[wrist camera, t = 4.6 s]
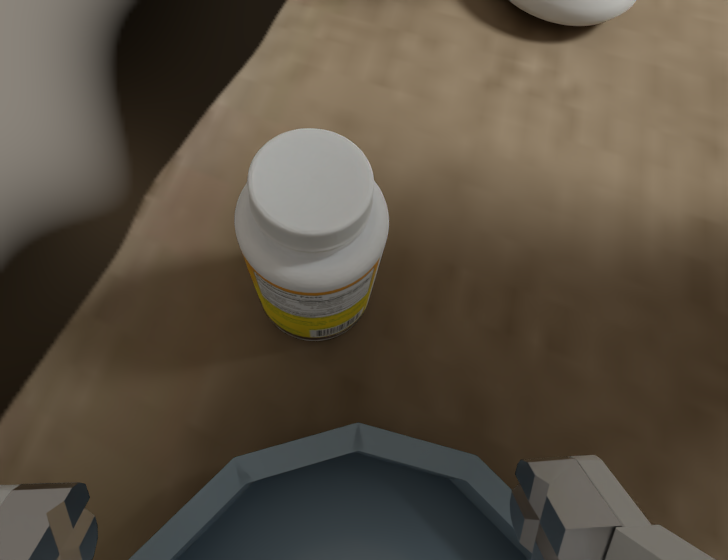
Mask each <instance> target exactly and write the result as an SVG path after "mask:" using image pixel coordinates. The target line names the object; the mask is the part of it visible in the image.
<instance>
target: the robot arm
mask: <svg viewBox="0 0 728 560" xmlns="http://www.w3.org/2000/svg"><path fill="white" fill-rule="evenodd" d="M515 475H516V477H517V479H518V481H519V484H518V485H517V486H516V487H515V488H514V489H513V490H512V492H511V498H510V515H511V521H512V525H513V528H514V531H515V534H516V536H517V538H518V541H519V543H520V544H521V545H523V546H524V547H525V548H526V549H528V550H529V551H530V552H531V553H532V556H531V560H715V559H714V558H712V557H710V556H709V555H707V554H706V553H704V552H702V551H701V550H699V549H698V548H696V547H694V546H693V545H691V544H690V543H688V542H686V541H685V540H683V539H682V538H680V537H678V536H677V535H675V534H674V533H672V532H670V531H669V530H667V529H666V528H664V527H662V526H661V525H651V523H650V522H649V521H648V519H647V518H646V517H645V516H644V514H643V513H642V512H641V510H640V509H639V508H638V506H637V505H636V504H635V502H634V501H633V500H632V499H631V497H630V496H629V495H628V493H627V492H626V491H625V489H624V488H623V487H622V486H621V484H620V483H619V482H618V480H617V479H616V478H615V476H614V475H613V474H612V473H611V471H610V470H609V469H608V467H607V466H606V465H605V463H604V462H603V461H602V460H601V459H600V458H599V457H597V456H596V455H583V456H570V457H567V456H566V457H550V458H534V459H521V460H520V462H519V463H518V464H517V468H516V473H515ZM89 498H90V496H89V493H88V490H87V487H86V484H84V483H79V482H77V483H40V484H21V485H0V560H92V559H93V557H94V552H95V548H96V544H97V539H98V526H97V522H96V518H95V515H94V514H92V513H91V512H90V511H88V510H87V509H86V508H85V506H86V504H87V502H88V500H89Z"/></svg>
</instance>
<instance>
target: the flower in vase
mask: <svg viewBox="0 0 728 560" xmlns="http://www.w3.org/2000/svg"><path fill="white" fill-rule="evenodd" d="M509 1H510V2H511V3H513V4H514V5H515V6H517V7H518V8H520V9H521V10H523V11H525V12H527V13H529V14H531V15H533V16H535V17H537V18H540V19H543V20H546V21H549V22H553V23H557V24H562V25H569V26H589V25H596V24H600V23H603V22H606V21H608V20H610V19H612V18H615V17H617V16H619V15H621V14H622V13H624V12H625V11H627V10H628V9H629V8H630V7H631V6H632V5H633V4H634V3H635V1H636V0H509Z"/></svg>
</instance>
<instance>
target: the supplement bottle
mask: <svg viewBox="0 0 728 560" xmlns="http://www.w3.org/2000/svg"><path fill="white" fill-rule="evenodd" d="M235 231H236V236H237V240H238V244H239V246H240V249H241V252H242V254H243V257H244V260H245V262H246V265H247V268H248V271H249V273H250V275H251V278H252V281H253V283H254V286H255V288H256V291H257V294H258V296H259V299H260V302H261V304H262V306H263V309H264V311H265V313H266V314H267V316H268V317H269V319H270V320H271V321H272V322H273V323H274V324H275V325H276V326H277V327H278V328H279V329H280V330H282V331H283V332H285V333H286V334H288V335H290V336H293V337H295V338H298V339H303V340H309V341H321V340H327V339H331V338H334V337H337V336H339V335H341V334H343V333H345V332H346V331H348V330H349V329H350V328H351V327H353V326H354V325H355V324H356V323H357V322H358V320H359V319H360V318H361V316H362V315H363V313H364V311H365V309H366V307H367V304H368V301H369V298H370V295H371V291H372V288H373V285H374V281H375V278H376V274H377V271H378V267H379V264H380V261H381V257H382V254H383V250H384V247H385V244H386V240H387V236H388V231H389V214H388V208H387V204H386V201H385V198H384V196H383V193H382V192H381V190H380V188H379V186H378V185H377V184H376V182H375V181H374V177H373V172H372V168H371V165H370V163H369V161H368V159H367V158H366V156H365V155H364V153H363V152H362V151H361V150H360V149H359V148H358V147H357V146H356V145H355V144H354V143H353V142H351V141H350V140H348V139H347V138H345V137H344V136H341V135H339V134H337V133H334V132H331V131H328V130H323V129H315V128H302V129H296V130H292V131H288V132H285V133H282V134H280V135H278V136H276V137H274V138H273V139H271V140H270V141H268V142H267V143H266V144H265V145H264V146H263V147H262V148H261V149H260V150H259V151H258V152H257V154H256V155H255V156H254V158H253V160H252V162H251V165H250V168H249V171H248V180H247V183H246V185H245V186H244V188H243V190H242V192H241V193H240V196H239V198H238V201H237V204H236V209H235Z"/></svg>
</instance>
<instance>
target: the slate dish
mask: <svg viewBox="0 0 728 560" xmlns="http://www.w3.org/2000/svg"><path fill="white" fill-rule="evenodd" d="M511 492H512V490H511V489H510V488H509V487H508V486H507V485H506V484H505V483H504V482H503V481H502V480H501V479H500V478H499V477H498V476H497V475H496V474H495V473H494V472H493V471H492V470H491V469H490V468H489V467H488V466H487V465H486V464H485V463H484V462H483V461H482V460H481V459H480V458H479V457H478V456H477V455H474V454H470V453H466V452H463V451H459V450H456V449H452V448H448V447H445V446H441V445H438V444H434V443H430V442H427V441H423V440H420V439H416V438H412V437H409V436H405V435H402V434H398V433H394V432H391V431H387V430H384V429H380V428H376V427H373V426H369V425H366V424H362V423H354V424H351V425H347V426H344V427H340V428H337V429H333V430H329V431H326V432H322V433H319V434H315V435H312V436H308V437H305V438H301V439H298V440H294V441H290V442H287V443H283V444H280V445H276V446H273V447H269V448H266V449H262V450H259V451H255V452H252V453H248V454H244V455H241V456H237V457H234V458H233V459H232V460H231V461H230V462H229V463H228V464H227V465H226V466H225V467H224V468H223V469H222V470H221V471H220V472H218V473H217V474H216V475H215V476H214V477H213V478H212V479H211V480H210V481H209V482H208V483H207V484H206V485H205V486H204V487H203V488H202V489H201V490H200V491H199V492H198V493H197V494H196V495H195V496H194V497H193V498H192V499H191V500H190V501H189V502H187V503H186V504H185V505H184V506H183V507H182V508H181V509H180V510H179V511H178V512H177V513H176V514H175V515H174V516H173V517H172V518H171V519H170V520H169V521H168V522H167V523H166V524H165V525H164V526H163V527H162V528H161V529H160V530H159V531H158V532H156V533H155V534H154V535H153V536H152V537H151V538H150V539H149V540H148V541H147V542H146V543H145V544H144V545H143V546H142V547H141V548H140V549H139V550H138V551H137V552H136V553H135V554H134V555H133V556H132V557H131V558H130V559H129V560H531V556H532V553H531V552H530V551H529V550H528V549H526V548H525V547H524V546H523V545H521V544H520V543H519V541H518V538H517V536H516V534H515V531H514V528H513V525H512V521H511V515H510V498H511Z"/></svg>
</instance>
